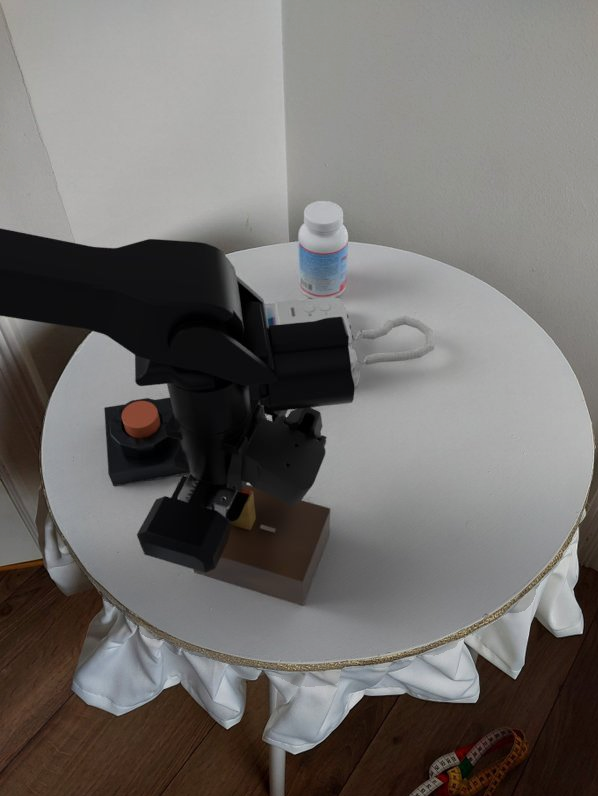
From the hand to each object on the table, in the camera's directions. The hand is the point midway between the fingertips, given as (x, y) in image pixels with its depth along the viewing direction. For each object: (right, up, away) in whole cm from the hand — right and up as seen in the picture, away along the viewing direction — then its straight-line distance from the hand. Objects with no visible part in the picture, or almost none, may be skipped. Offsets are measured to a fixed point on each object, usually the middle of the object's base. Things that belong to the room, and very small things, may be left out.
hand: (229, 515), depth 66 cm
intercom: (+9, +18, +21) cm, 29 cm away
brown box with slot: (+3, -4, +4) cm, 6 cm away
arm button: (-10, +9, +8) cm, 16 cm away
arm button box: (-8, +7, +12) cm, 16 cm away
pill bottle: (+8, +27, +28) cm, 40 cm away
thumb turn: (0, 0, 0) cm, 0 cm away
